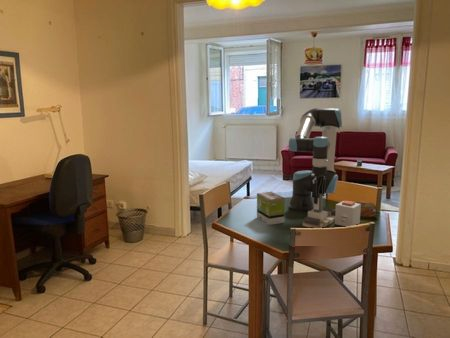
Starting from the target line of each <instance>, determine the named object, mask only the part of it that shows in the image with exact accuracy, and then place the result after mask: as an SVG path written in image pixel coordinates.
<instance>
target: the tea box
mask: <svg viewBox="0 0 450 338" xmlns="http://www.w3.org/2000/svg"><path fill="white" fill-rule="evenodd" d="M285 199H286V198H285V197H283V196H282V195H279V194H277V193H276V192H273V191H266V192H257V193H256V218H258V219H259V220H261V221H263V222H264V223H266V224H267V225H269V226H272V225H278V224H283V223H285V207H286V206H285V205H286V203H285V202H286V201H285Z"/></svg>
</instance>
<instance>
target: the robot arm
mask: <svg viewBox="0 0 450 338" xmlns="http://www.w3.org/2000/svg"><path fill="white" fill-rule="evenodd" d="M342 120H343V119H342V110H341V109H340V108H334V107H331V108H330V107H328V108H327V107H325V108H323V107H320V108H319V107H316V108H312V109H311V108H310V109H309V110H307V111H306V112H304V114H302V116H301V117H300V119H299V123H300V124H299V127H298V130H297V132H296V134H295V137H291V138H289V140H288V150H289V152H290V151H291V152H299V153H300V152H303V153H304V152H306V153H312V168H311V169H312V170H308V169H307V170H298V171H296V172H294V173H293V176H292V196H291V198H290V201H289V204H288V205H289V206H288V207H289V208H290V209H291V210H295V211H303V212H304V211H305V212H306V211H307V212H308V211H311V210H313V209H316V210H319V198H318V197H319V193H321V194H322V199H323V197H325V194H334V193H335V192H336V190H337V185H338V180H339V176H338V174H337V171H335V169H334V167H335V158H336V157H335V155H336V143H337V132H339V131H340V128H342V127H343V124H342V123H343V121H342ZM314 127H317V128H318V127H319V129H320V131H321V136H315V137H313V138H310V135H311V133H312V130H313V129H314Z"/></svg>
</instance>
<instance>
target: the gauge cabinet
mask: <svg viewBox="0 0 450 338" xmlns="http://www.w3.org/2000/svg"><path fill="white" fill-rule="evenodd" d="M344 201H345V200H342V201H340V202H338V203H336V204H335V209H334V210H335V221H334V224H335V225H336V226H337V225H338V226H341V227H342V226H343V227H346V226H350V225H356V224H358V225H359V224H360V222H361V216H360V211H361V204H358V203H355V205H353V206H347V205H342V202H344ZM356 226H357V225H356Z"/></svg>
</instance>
